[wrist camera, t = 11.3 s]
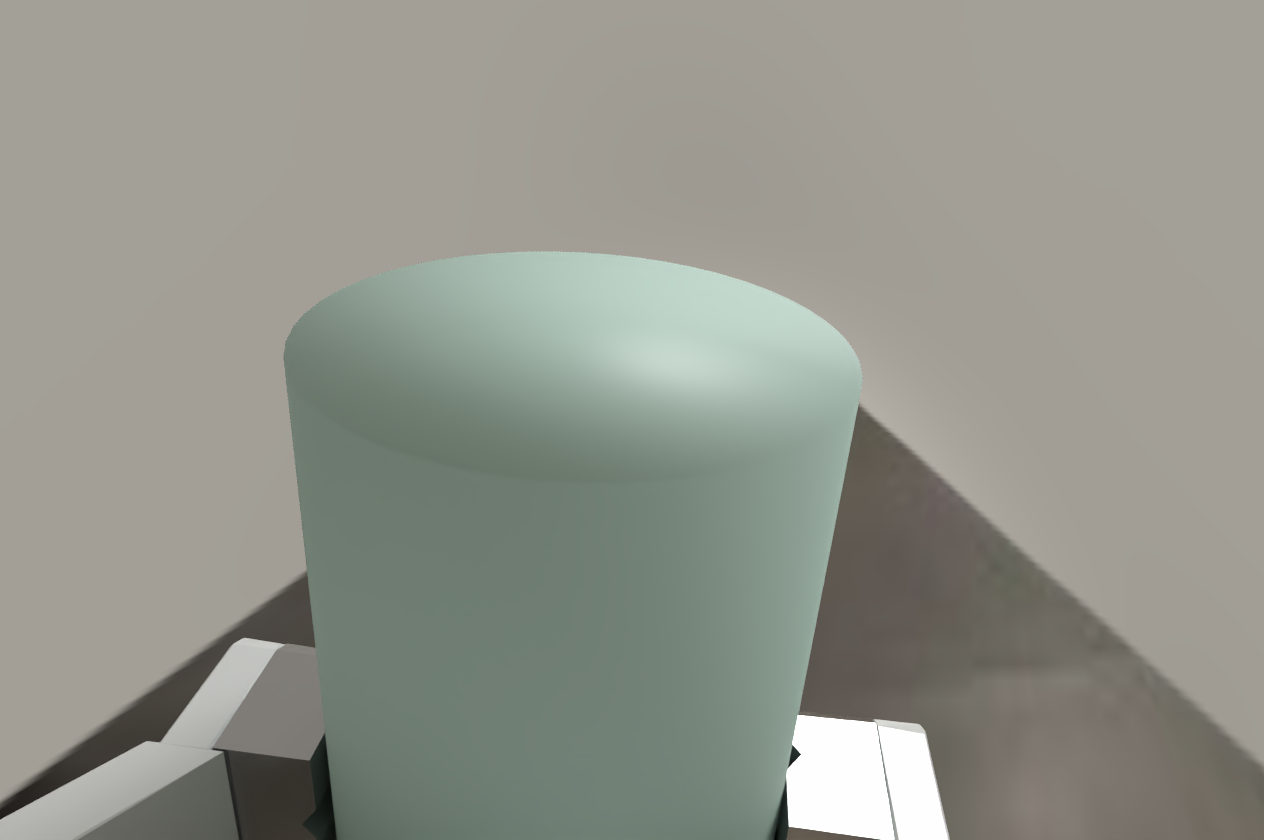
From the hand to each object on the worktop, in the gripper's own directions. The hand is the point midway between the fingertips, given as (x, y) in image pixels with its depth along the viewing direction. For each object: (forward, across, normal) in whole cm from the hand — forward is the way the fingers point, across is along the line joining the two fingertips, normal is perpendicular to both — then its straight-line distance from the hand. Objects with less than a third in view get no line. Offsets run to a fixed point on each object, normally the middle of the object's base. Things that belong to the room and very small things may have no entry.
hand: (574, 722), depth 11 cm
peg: (-1, 0, -6) cm, 6 cm away
